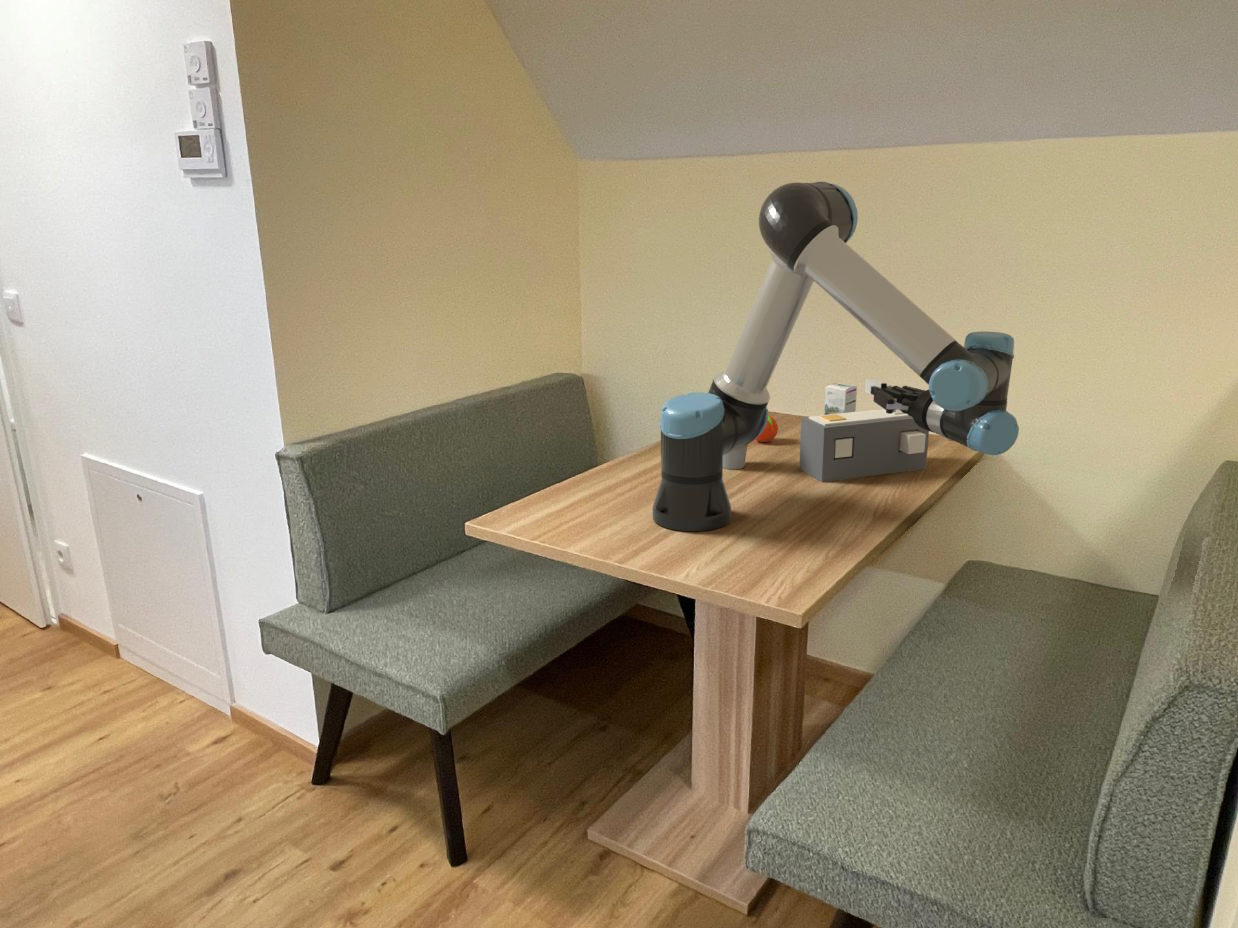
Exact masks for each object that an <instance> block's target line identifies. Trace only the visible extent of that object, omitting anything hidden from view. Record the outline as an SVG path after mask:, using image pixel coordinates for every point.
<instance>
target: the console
mask: <svg viewBox="0 0 1238 928" xmlns="http://www.w3.org/2000/svg"><path fill="white" fill-rule="evenodd" d="M907 430H916V431H918V432H921V433H923V434H926V438H925V450H924V452H922V453H914V454H907V453H905V452H902V451H900V450H899V439H900V431H907ZM929 436H930V431H928V430H925V429H923V428H921V427H919V426H918V425H917V424H916V423H915V421H914V419H913V417H912V416H909V415H908V414H905V413H903V412H902V411H900V410H896V412H893V413H891V414H888V413H886V410H885V409H884V408H878V409H868V410H860V411H857V410H856V411H855V412H847V413H838V414H828V415H824V414H821V415H820V414H819V415H810V416H809V415H808V416H802V417H801V418H800V440H799V441H800V442H799V443H800V444H799V445H800V446H799V468H798V469H799V470H800V471H802V472H804V473H805V474H807V475H809V476H811V477H813V478H814V479H816V480H817V481H819V482H821V483H824V482H832V481H839V480H848V479H855V478H864V477H871V476H872V477H873V476H880V475H887V474H889V475H890V474H895V473H896V474H897V473H902V472H903V473H904V472H905V473H906V472H911V471H918V470H926V469H927V458H928V447H929ZM844 437H851V438H853V441H852V456H849V457H841V458H834V442H835V438H844Z"/></svg>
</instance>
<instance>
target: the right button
mask: <svg viewBox="0 0 1238 928" xmlns="http://www.w3.org/2000/svg"><path fill="white" fill-rule="evenodd" d="M925 438H926V434H923V433H921V432H918V431H916V430H907V431H900V439H899V450H900V451H902V452H905V453H907V454H914V453H922V452H924V450H925Z"/></svg>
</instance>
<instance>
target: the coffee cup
mask: <svg viewBox="0 0 1238 928" xmlns="http://www.w3.org/2000/svg"><path fill="white" fill-rule="evenodd" d="M748 446H749V444H747V445H745V446H742V447H740V448H738V449H735V450H733V451H731V452H729V453H726V454H724V455H723V469H724V470H741V469H742V468H744V467H745V466H746V456H747V452H748V451H747V450H748Z"/></svg>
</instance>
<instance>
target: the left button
mask: <svg viewBox="0 0 1238 928" xmlns="http://www.w3.org/2000/svg"><path fill="white" fill-rule="evenodd" d="M852 441H853V438H851V437H844V438H835V442H834V458H841V457H849V456H852Z"/></svg>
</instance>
